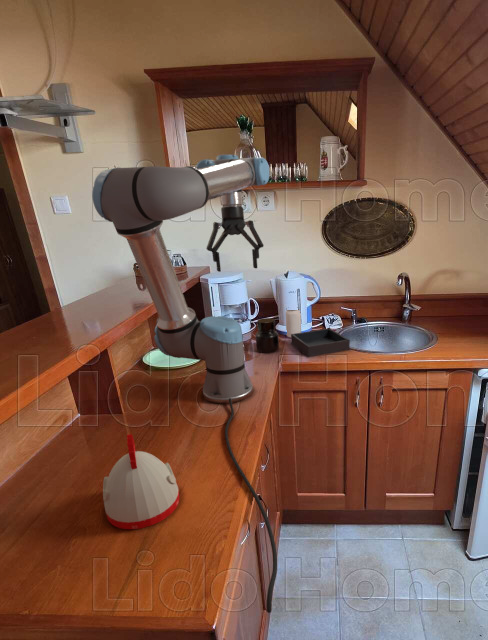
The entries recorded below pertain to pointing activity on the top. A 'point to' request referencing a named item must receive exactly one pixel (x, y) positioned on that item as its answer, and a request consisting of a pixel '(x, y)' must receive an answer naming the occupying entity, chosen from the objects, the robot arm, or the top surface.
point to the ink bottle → (267, 336)
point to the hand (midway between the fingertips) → (237, 269)
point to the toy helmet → (139, 490)
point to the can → (293, 322)
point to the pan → (320, 342)
